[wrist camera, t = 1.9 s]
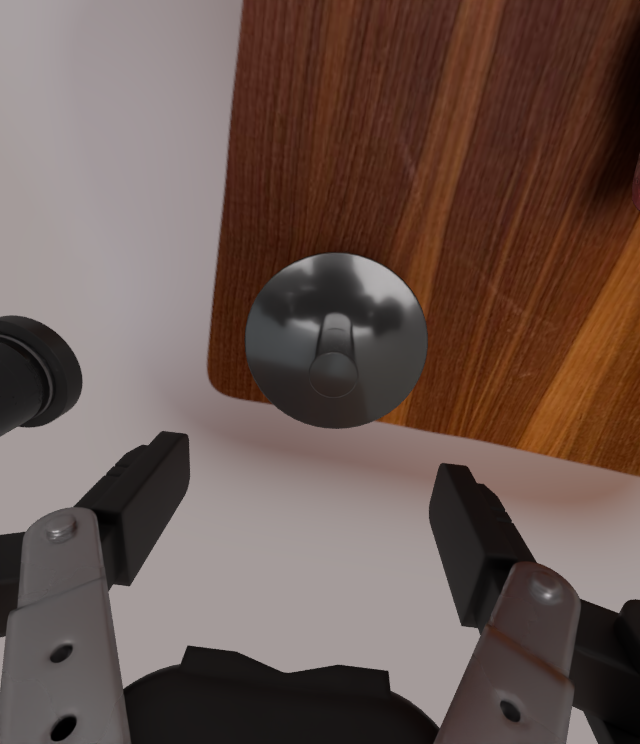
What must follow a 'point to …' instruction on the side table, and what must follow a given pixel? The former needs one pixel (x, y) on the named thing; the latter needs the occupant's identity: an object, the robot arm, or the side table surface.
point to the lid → (336, 340)
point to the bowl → (636, 186)
